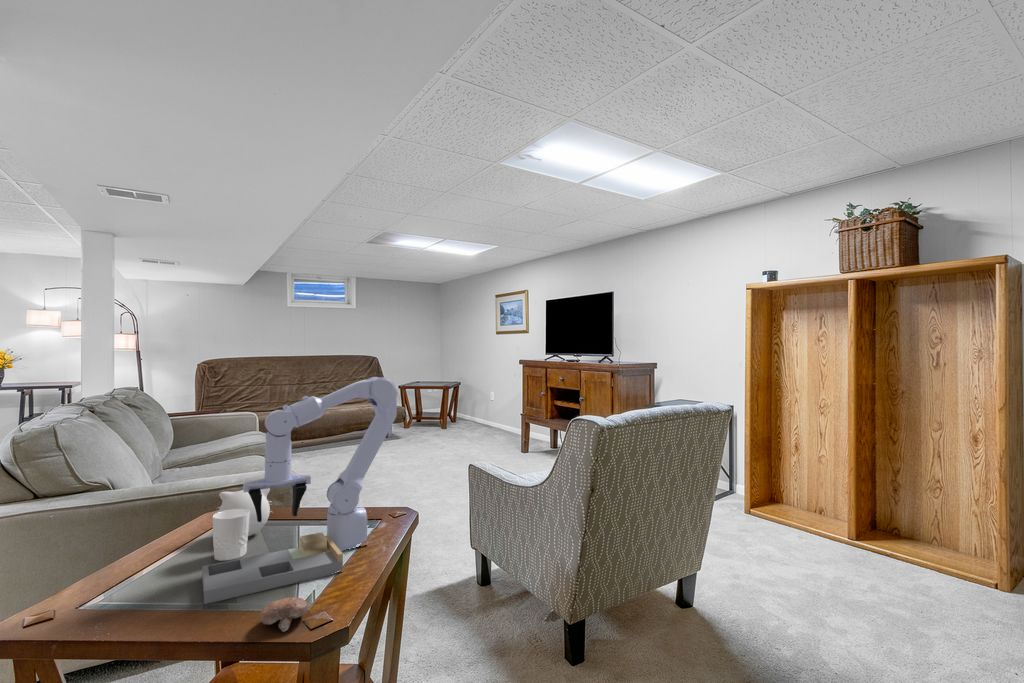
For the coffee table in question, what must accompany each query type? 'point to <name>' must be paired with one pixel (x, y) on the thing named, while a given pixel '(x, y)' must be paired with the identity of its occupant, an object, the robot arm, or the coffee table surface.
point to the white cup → (230, 534)
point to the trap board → (267, 572)
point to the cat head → (247, 507)
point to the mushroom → (283, 611)
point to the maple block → (313, 544)
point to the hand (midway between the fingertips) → (277, 518)
